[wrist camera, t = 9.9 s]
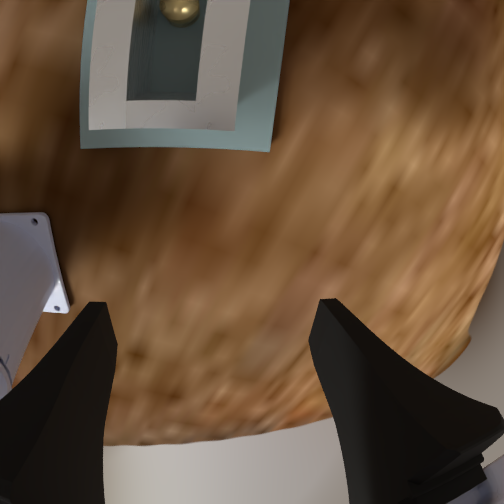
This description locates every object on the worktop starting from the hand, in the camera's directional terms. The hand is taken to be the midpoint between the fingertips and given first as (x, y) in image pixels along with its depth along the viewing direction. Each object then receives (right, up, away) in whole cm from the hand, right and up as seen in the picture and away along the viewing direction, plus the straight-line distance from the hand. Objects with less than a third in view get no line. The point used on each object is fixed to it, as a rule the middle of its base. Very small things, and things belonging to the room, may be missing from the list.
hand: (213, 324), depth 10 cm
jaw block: (-2, +14, +1) cm, 14 cm away
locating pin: (-2, +14, +2) cm, 14 cm away
